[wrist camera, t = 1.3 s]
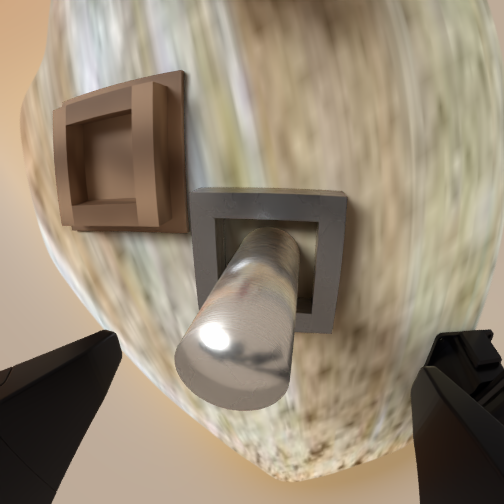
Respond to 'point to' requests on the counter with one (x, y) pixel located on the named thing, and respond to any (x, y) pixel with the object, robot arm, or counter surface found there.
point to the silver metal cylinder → (245, 327)
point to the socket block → (273, 208)
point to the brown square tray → (123, 157)
